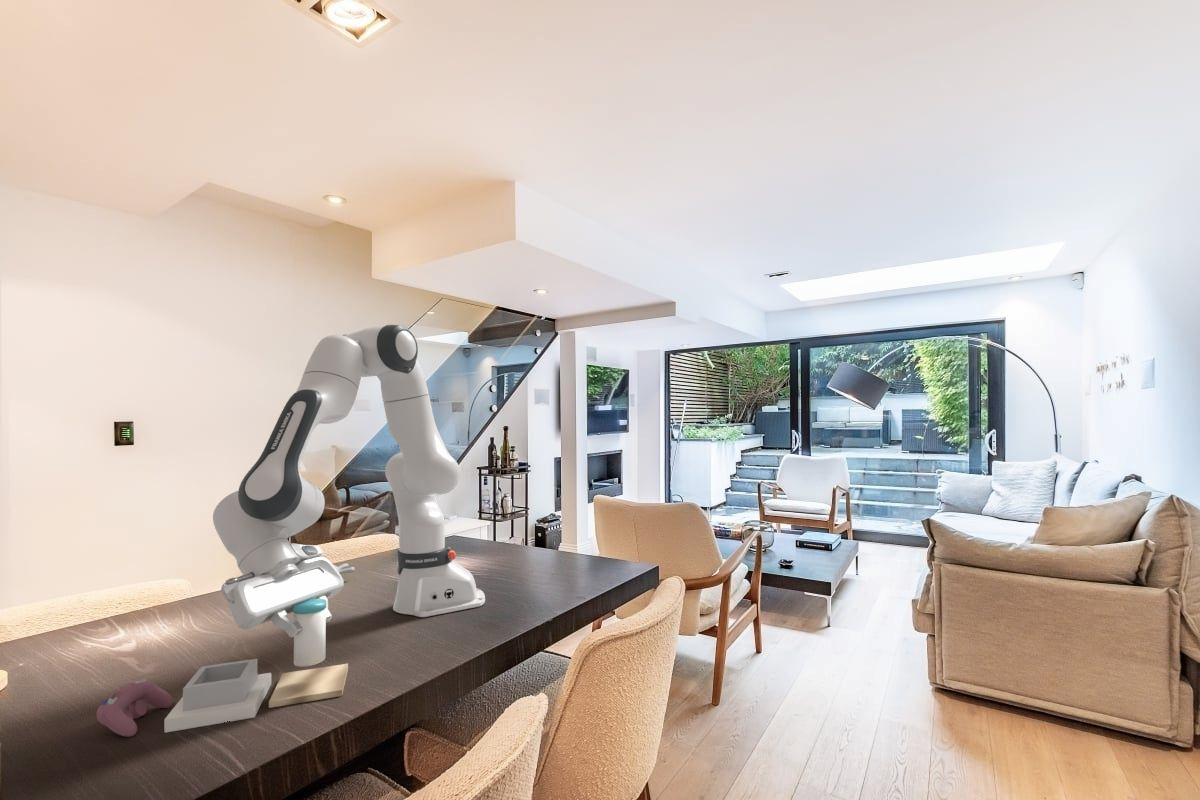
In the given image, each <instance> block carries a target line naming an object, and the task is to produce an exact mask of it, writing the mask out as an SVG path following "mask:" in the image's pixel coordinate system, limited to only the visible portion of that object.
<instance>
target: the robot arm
mask: <svg viewBox="0 0 1200 800" xmlns="http://www.w3.org/2000/svg"><path fill="white" fill-rule="evenodd" d="M418 349H419V348H418V343H417V340H416V337H415V335H414V334H413V333H412V332H411V331H410V329H409V328H407V327H405V326H404V325H400V324H387V325H384V326H373V327H372V326H371V327H366V328H363V329H361V330H358V331H354V332H351V333H346V334H342V335H340V334H333V335H327V336H325V337H323V338H322V339H320V341H319V342H318V343H317V345H316V346H315V348H314V349H313V352H312V354H311V356H310V357H309V359H308V362H307V364H306V366H305V368H304V371H303V374H302V376H301V379H300V382H299V385H298V387H297V388H296V389H297V390H296V392H294V393H293V394H292V395H291V396H290V397H289V398H288V399H287V401H286V404H285V405H284V407H283V408H282V410H281V413H280V414H279V416H278V419H277V421H276V423H275V425H274V428H273V429H272V432H271V434H270V436H269V438H268V441H267V443H266V444H265V447H264V449H263V451H262V452H261V454H260V456H259V457H258V459H257V460H256V462H255V463H254V464H253V465H252V467H251V468H250V469H249V470H248V472H247V473H245V475H244V477H243V479H242V480H241V482H240V484H239V487H238V490H236V491H234V492H231V493H230V494H228V495H227V496H225V497H224V498H223V499H221V501H220V502H218V503H217V504H216V506H215V508H214V510H213V514H212V523H213V525H214V529H215V531H216V533H217V535H218V537H219V538H220V541H221V542H222V544H223V546H224V548H225V550H226V551H227V552H228V553H229V554H231V555H232V556H233V557H234V559H235V560H236V564H237V567H238V569H239V571H240V573H241V574H242V575H240V576H236V577H231V578H228V579H226V580H225V582H224V583H223V584H222V585H221V589H220V592H221V594H222V596H223V597H224V598H225V600H226V601H227V604H228V608H229V610H230V614H231V616H232V618H233V620H234V622H235V624H236V626H237V627H238V628H240V629H242V630H246V631H247V630H250V629H253V628H254V627H258V626H260V625H262V624H265V623H268V622H272V625H274V627H277V628H278V629H281V630H283V631H285V632H286V634H287V635H288V637H289V638H294V636H296V635H298V634H299V633H300V632H301V631H302V626H300V623H299V622H298V621H297V622H294V620H291V618H288V617H287V615H289V614H291V613H294V612H293V605H296V604H299V603H301V602H304V601H307V600H310V599H325V600H326V623H328V622H330V621H331V619H333V615H332V614H331V612H330V610H329V599H332V598H334V597H336V596H337V595H338V594H339V593H340V591H342V589H343V588H344V585H345V581H344V578H343V577H342V574H340V573H339V572H338V570H337V569H336V568H335V566H334V565H335V564H333V563H332V561H331V560H329V558H327V557H325V556H322V555H323V552H324V551H323V549H322V548H321V546H319V545H316V544H301V543H300V544H299V543H293V542H292V543H291V542H290V541H289V540H288V539H289V538H292V537H294V536H296V535H299V534H300V533H301V532H304V531H305V530H307V529H308V528H310V527H312V526H313V525H315V524H317V522H318V521H319V520H320V519H321V517H322V515H323V514H324V511H325V508H326V498H325V495H324V493H323V492H322V490H321V489H320V488H318V487H317V486H316V485H315V484H314V483H312V482H311V481H309V480H308V479H306V478H305V477H303V476H302V474H301V470H300V463H301V460H302V457H303V455H304V453H305V450H306V447H307V446H308V443H309V441H310V438H311V436H312V434H313V432H314V430H315V428H317V426H318V425H320V424H322V425H323V424H326V425H327V424H335V423H338V422H340V421H341V420H343V419H345V418H346V417H347V416H348V415H349V413H350V412H351V410H352V409H353V406H354V404H355V401H356V398H357V395H358V391H359V386H360V384H361V378H367V377H368V378H369V377H377V378H378V379H379V381H380V391H381V398H382V402H383V409H384V412H385V417H386V422H387V426H388V431H389V433H390V435H391V436H392V438H393V439H394V441H395V442H396V443H397V446H398V447H399V449H400V451H401V452H398V453H396V454H394V455H392V457H390V458H389V459H388V461H387V463H386V464H385V469H384V474H385V479H386V480H387V482H388V483H389V485H390V488H391V490H392V495H393V499H394V503H395V508H396V513H397V519H398V545H399V546H398V548H399V549H398V550H397V556H396V571H397V574H398V579H397V588H396V593H395V599H394V603H393V606H392V610H393V611H394V612H396V613H397V614H398V613H399V614H402V615H411V616H415V617H419V618H427V617H431V616H436V615H442V614H447V613H453V612H457V611H462V610H467V609H473V608H479V607H482V606H483V605H484V604H485V602H486V595H485V593H484V591H482V590H481V589H480V588H477V585H476V581H475V578H474V576H473V574H472V573H471V572H470V571H469V570H468V569H467V568H465V567H463V566H462V565H460V564H459V563H457V562H456V561H454V560H455V559H456V557H457V553H456V551H455V550H453V549H452V548H451V547H450V546H446V541H445V540H446V539H445V537H446V536H445V535H446V534H445V531H446V527H445V515H444V513H443V512H442V510H441V508H440V506H439V503H438V500H437V496H442V495H445V494H448V493H450V492H451V491H453V490H454V489H455V488H456V487H457V486H458V483H459V481H460V478H461V469H460V466H459V463H458V462H457V460H456V459H455V458H454V457H453V456H452V455H451V454H450V452H449V451H448V449H447V447H446V445H445V443H444V441H443V439H442V437H441V434H440V432H439V430H438V427H437V424H436V422H435V421H436V420H435V417H434V412H433V408H432V407H433V406H432V402H431V399H430V393H429V388H428V384H427V382H426V381H427V380H426V378H425V374H424V372H423V369H422V367H421V366H422V365H421V364H420V362H419V360H418V352H419V351H418Z"/></svg>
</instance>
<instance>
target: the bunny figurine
mask: <svg viewBox="0 0 1200 800" xmlns="http://www.w3.org/2000/svg"><path fill="white" fill-rule="evenodd" d="M333 565H334V566H335V568H336V569H337V570H338V572H339V573H340V575H343V574H351V573H355V571H356V569H355V567H354V566H351V567H349V563H346V562H345V563H342V564H340V565H338V566H337V565H335V564H333Z"/></svg>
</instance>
